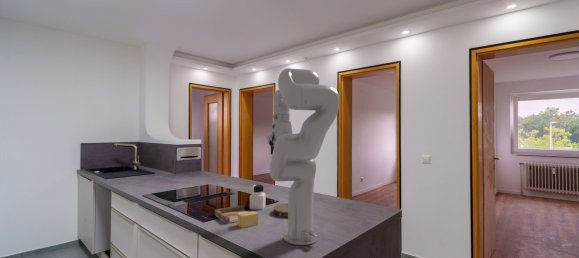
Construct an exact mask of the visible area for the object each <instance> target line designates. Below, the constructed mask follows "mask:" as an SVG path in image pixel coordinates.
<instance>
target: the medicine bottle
mask: <svg viewBox="0 0 579 258" xmlns="http://www.w3.org/2000/svg"><path fill="white" fill-rule="evenodd" d="M264 188H265V187H264V185H263V184H254V185H252V186H251V194H250V195H249V209H250V210H264V208H265V207H266V192H264Z"/></svg>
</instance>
